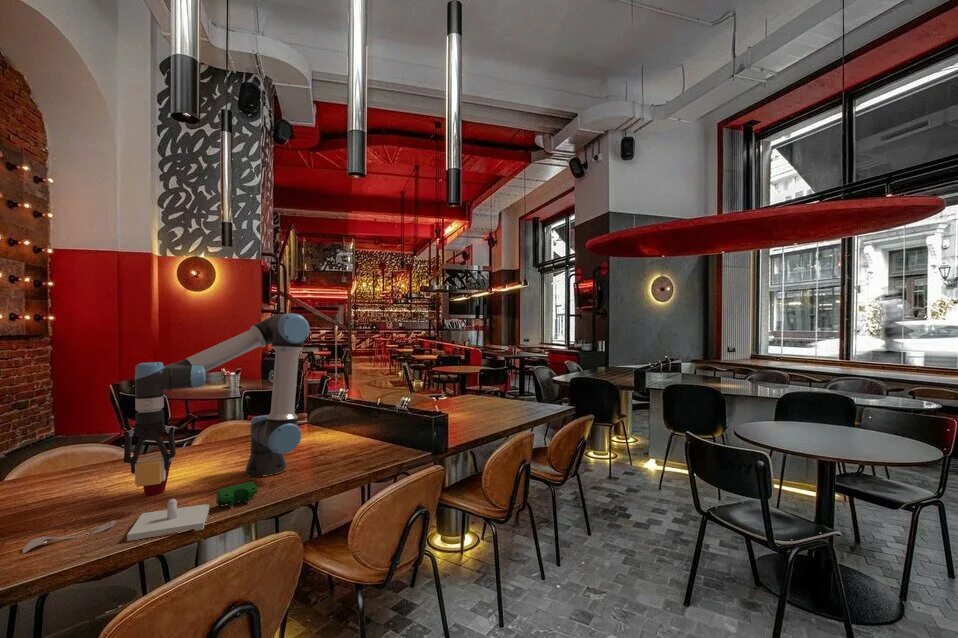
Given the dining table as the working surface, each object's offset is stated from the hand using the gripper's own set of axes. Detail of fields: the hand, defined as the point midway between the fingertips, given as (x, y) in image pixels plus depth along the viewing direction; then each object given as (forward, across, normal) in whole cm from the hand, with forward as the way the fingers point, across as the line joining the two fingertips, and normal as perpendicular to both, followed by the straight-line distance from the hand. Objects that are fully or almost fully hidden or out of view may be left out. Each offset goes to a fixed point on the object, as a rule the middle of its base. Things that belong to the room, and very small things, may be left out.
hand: (150, 481), depth 147 cm
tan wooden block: (0, 0, 0) cm, 0 cm away
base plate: (+9, +8, -16) cm, 20 cm away
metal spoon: (+9, -15, -15) cm, 23 cm away
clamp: (+10, +25, -7) cm, 28 cm away
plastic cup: (+10, -2, +18) cm, 20 cm away
